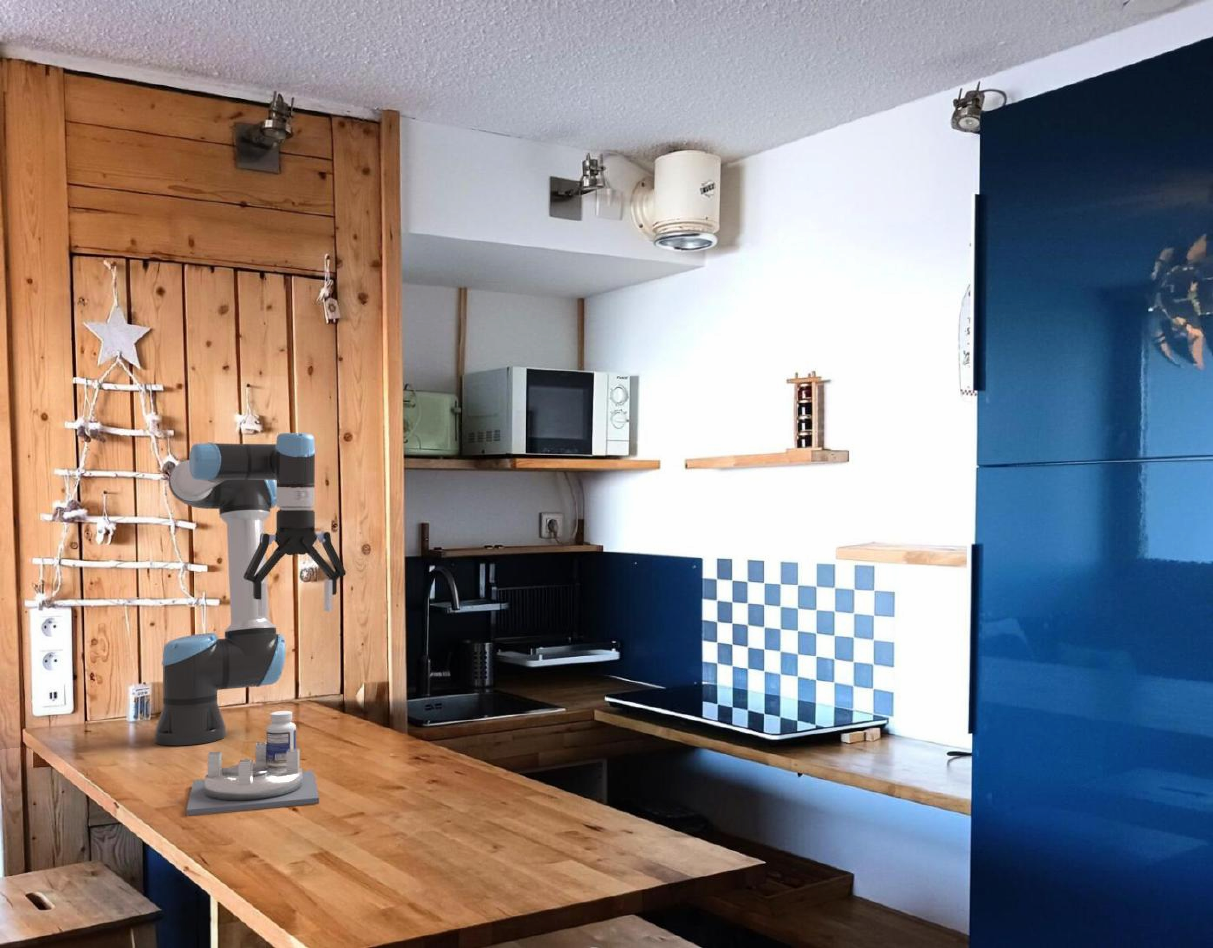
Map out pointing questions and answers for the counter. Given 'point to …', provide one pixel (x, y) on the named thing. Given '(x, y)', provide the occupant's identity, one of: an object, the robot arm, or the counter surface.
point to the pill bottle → (280, 738)
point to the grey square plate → (208, 805)
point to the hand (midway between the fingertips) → (295, 613)
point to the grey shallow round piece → (252, 776)
